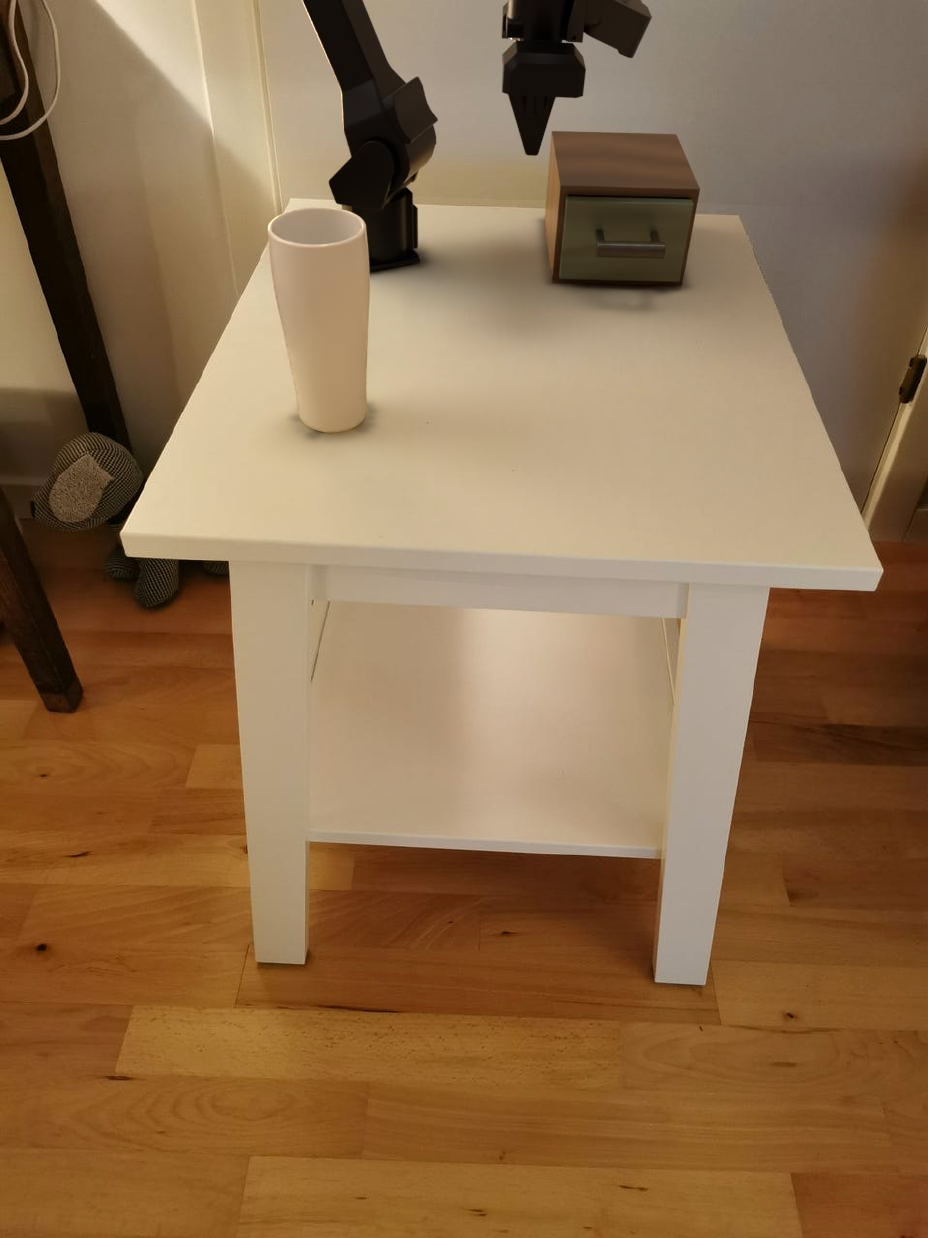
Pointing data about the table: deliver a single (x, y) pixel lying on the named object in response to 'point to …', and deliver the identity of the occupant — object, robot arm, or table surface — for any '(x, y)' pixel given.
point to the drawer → (624, 238)
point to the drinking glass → (324, 311)
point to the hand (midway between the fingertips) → (531, 153)
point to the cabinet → (613, 179)
